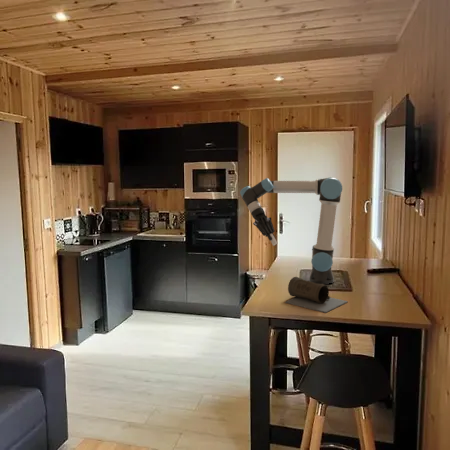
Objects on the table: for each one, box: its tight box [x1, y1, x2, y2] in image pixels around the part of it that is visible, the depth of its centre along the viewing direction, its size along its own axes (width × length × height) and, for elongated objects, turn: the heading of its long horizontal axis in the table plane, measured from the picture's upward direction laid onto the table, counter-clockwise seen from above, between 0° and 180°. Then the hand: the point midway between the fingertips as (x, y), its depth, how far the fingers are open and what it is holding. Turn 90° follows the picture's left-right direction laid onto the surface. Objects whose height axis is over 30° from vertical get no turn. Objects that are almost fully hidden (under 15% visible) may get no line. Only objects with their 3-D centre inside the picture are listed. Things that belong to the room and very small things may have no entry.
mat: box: [285, 296, 348, 314], centre depth 220 cm, size 24×22×1 cm
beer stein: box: [287, 276, 330, 303], centre depth 224 cm, size 15×11×20 cm
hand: (275, 244), depth 240 cm, fingers closed
